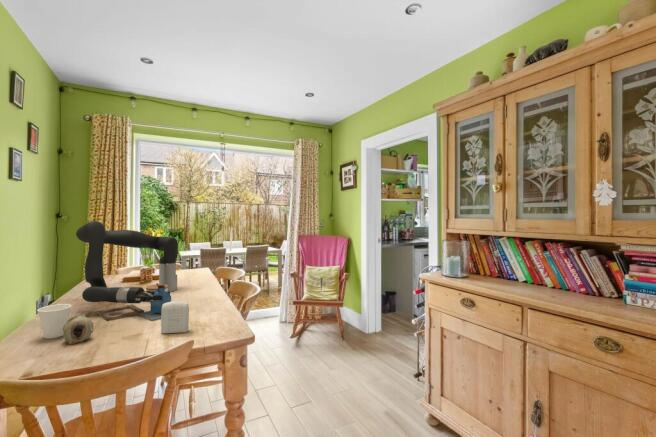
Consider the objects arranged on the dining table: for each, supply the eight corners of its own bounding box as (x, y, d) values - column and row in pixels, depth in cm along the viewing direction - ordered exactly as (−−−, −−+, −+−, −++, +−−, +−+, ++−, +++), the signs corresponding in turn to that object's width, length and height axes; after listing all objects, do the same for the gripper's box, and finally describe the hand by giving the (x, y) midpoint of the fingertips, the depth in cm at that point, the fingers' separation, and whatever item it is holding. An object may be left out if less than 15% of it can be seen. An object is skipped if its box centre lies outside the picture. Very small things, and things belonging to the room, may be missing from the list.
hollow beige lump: (63, 348, 115) (53, 323, 114) (88, 336, 122) (79, 313, 122) (77, 345, 111) (67, 319, 110) (102, 333, 118) (92, 309, 118)
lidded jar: (156, 303, 164) (156, 286, 164) (141, 301, 168) (141, 284, 167) (172, 298, 174) (172, 282, 174) (157, 296, 178) (158, 280, 178)
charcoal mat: (169, 307, 157) (169, 306, 157) (182, 313, 149) (182, 312, 149) (138, 314, 147) (138, 313, 147) (151, 321, 138) (151, 319, 138)
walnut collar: (132, 306, 158) (132, 304, 158) (144, 312, 149) (144, 310, 149) (96, 313, 147) (96, 311, 146) (107, 321, 137) (107, 318, 137)
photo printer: (189, 329, 129) (190, 299, 129) (187, 332, 125) (187, 302, 125) (162, 330, 127) (162, 300, 127) (159, 334, 123) (159, 303, 123)
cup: (32, 343, 113) (32, 313, 113) (42, 333, 122) (42, 305, 122) (67, 338, 118) (67, 309, 118) (74, 329, 127) (74, 302, 126)
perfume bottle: (170, 308, 150) (171, 284, 150) (162, 312, 144) (163, 287, 144) (158, 308, 151) (159, 283, 151) (150, 312, 145) (150, 286, 145)
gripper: (120, 290, 140) (158, 291, 140) (139, 283, 154) (173, 284, 155) (120, 307, 140) (157, 308, 140) (139, 298, 154) (173, 299, 155)
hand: (165, 295), depth 148 cm, fingers closed on perfume bottle, 6 cm apart
